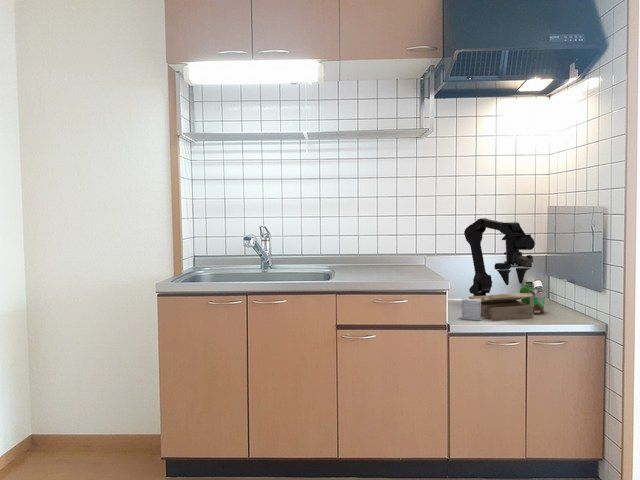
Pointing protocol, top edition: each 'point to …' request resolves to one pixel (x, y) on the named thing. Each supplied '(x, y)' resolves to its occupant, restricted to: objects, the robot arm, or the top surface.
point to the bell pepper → (526, 290)
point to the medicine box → (471, 309)
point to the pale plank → (505, 297)
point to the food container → (537, 300)
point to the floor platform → (505, 310)
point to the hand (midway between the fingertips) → (514, 284)
